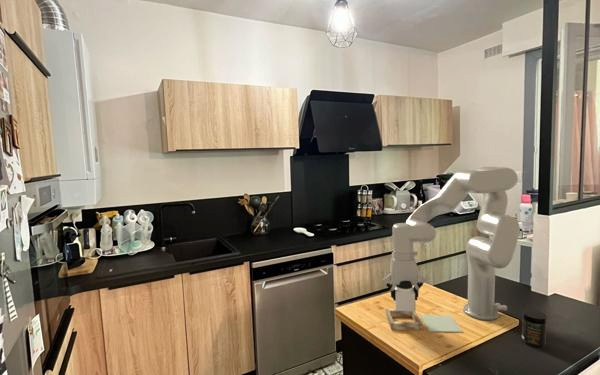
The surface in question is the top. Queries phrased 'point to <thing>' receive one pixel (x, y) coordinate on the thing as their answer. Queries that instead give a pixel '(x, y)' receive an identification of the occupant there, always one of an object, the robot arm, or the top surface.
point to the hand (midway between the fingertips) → (404, 298)
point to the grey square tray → (403, 325)
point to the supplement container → (534, 328)
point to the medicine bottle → (405, 297)
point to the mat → (440, 323)
